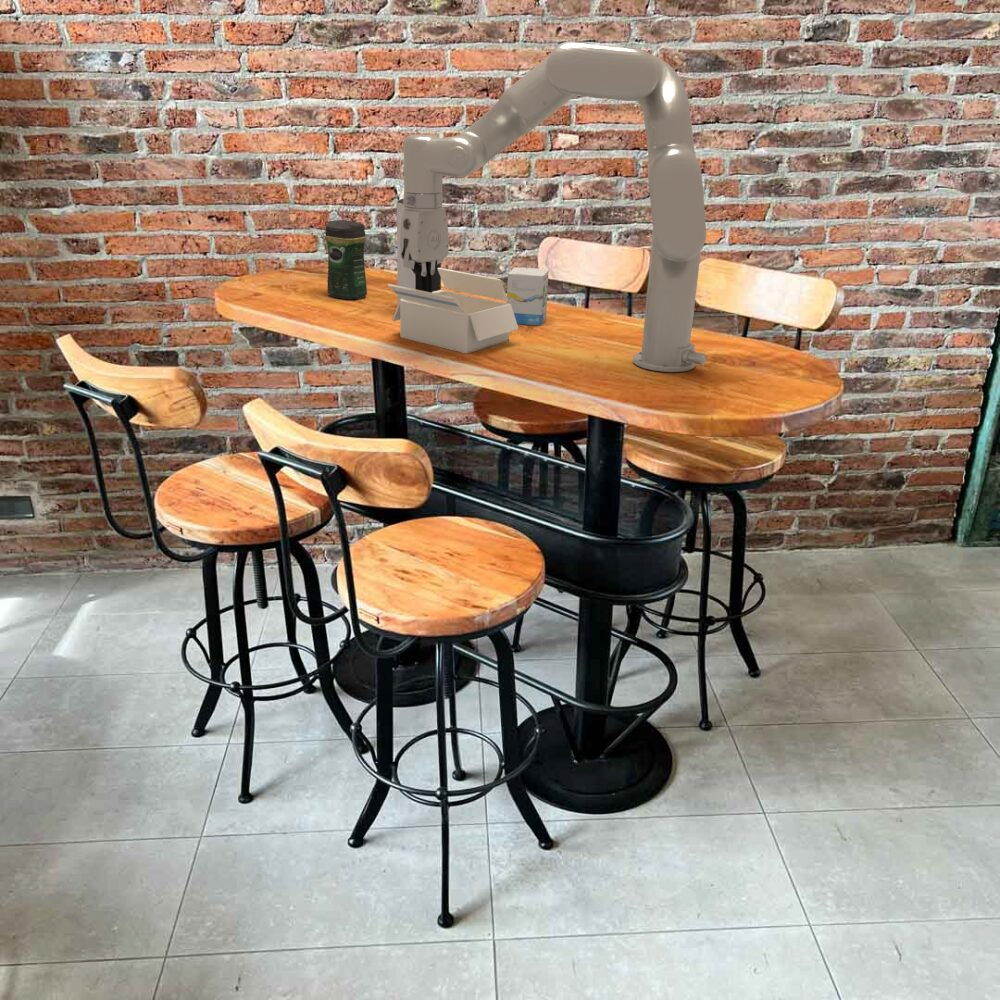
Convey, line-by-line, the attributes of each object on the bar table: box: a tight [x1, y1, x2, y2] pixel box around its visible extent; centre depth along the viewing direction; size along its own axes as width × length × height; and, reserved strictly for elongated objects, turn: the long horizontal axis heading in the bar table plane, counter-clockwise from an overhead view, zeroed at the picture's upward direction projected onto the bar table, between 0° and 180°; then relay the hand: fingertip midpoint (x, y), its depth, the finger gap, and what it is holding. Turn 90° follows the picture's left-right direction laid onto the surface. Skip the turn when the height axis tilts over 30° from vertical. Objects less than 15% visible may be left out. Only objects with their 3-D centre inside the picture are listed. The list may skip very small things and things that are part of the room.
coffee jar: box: [325, 219, 368, 300], centre depth 242 cm, size 10×8×19 cm
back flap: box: [438, 267, 508, 302], centre depth 211 cm, size 17×1×6 cm, turn 53°
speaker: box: [396, 198, 442, 304], centre depth 228 cm, size 11×10×26 cm
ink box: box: [505, 266, 550, 327], centre depth 227 cm, size 9×8×12 cm
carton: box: [392, 289, 519, 355], centre depth 210 cm, size 24×14×8 cm, turn 53°
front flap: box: [387, 283, 465, 312], centre depth 200 cm, size 17×1×6 cm
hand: (423, 294), depth 200 cm, fingers closed
